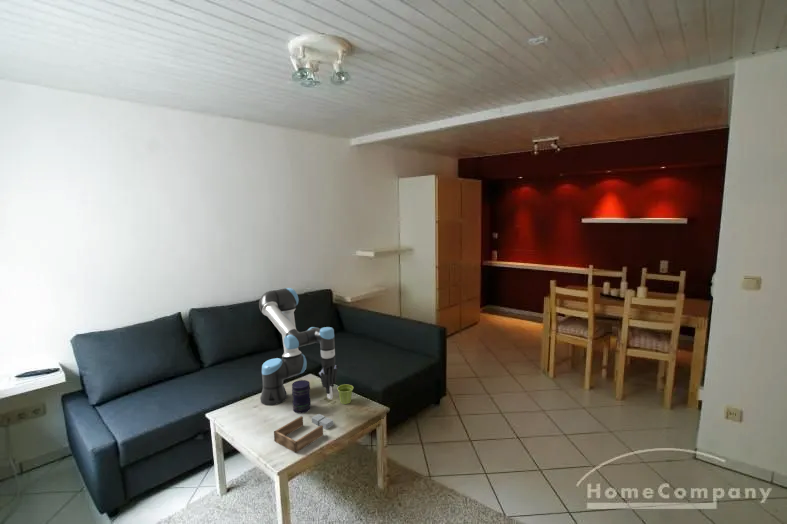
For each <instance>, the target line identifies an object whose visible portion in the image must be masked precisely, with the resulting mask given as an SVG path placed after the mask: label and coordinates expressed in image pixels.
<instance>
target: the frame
mask: <svg viewBox="0 0 787 524" xmlns="http://www.w3.org/2000/svg"><path fill="white" fill-rule="evenodd" d="M301 427H304V416H302V415H301V416H299V417H297V418H296V419H294V420H292V421H290V422H289V423H287V424H285V425H283V426H281V427H279V428H277V429H276V430H273V438H274V439H273V441H274V442H276V443H277V444H278V445H280V446H282V447H285V448H286V449H287V450H290V451H291V452H293V453H295V454H297V453H298V452H300V451H301V450H303V449H304V448H306V447H307V446H309V445H311V444H312V443H313V442H315V441H317V440H318V439H320V438H321V437H323V436H324V428H323V426H322V425H321V426H320V425H318V427H316V428H314V429H313V430H311V431H309V432H308V433H307V434H304V435H303V436H302V437H300V438H298V439H296V440H295V439H293V438H290V437H289V436H288V435H289V434H292V433H293V432H295V431H297V430H298V429H300V428H301Z"/></svg>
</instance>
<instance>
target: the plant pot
mask: <svg viewBox="0 0 787 524" xmlns="http://www.w3.org/2000/svg"><path fill="white" fill-rule="evenodd" d="M336 390H337V393H338V396H339V402H340V404H342V405H348V404H350V403H351V402H352V395H353V390H354V386H353V385H351V384H345V383H344V384H340V385H339V386H338V387H337V388H336Z"/></svg>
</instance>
